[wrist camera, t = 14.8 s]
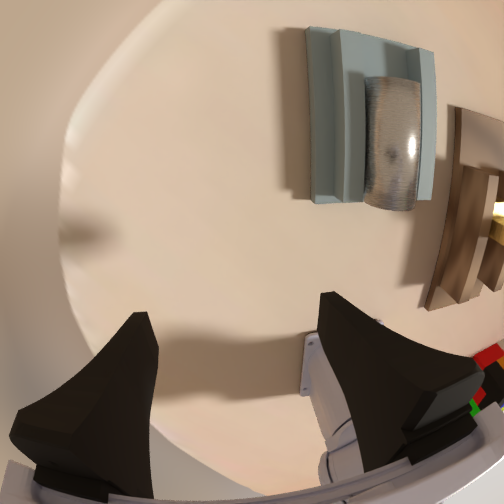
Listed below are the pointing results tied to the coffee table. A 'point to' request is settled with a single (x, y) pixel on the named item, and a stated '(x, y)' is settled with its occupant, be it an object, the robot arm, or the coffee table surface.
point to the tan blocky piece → (498, 221)
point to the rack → (359, 108)
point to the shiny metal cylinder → (392, 142)
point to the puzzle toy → (490, 378)
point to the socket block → (471, 214)
